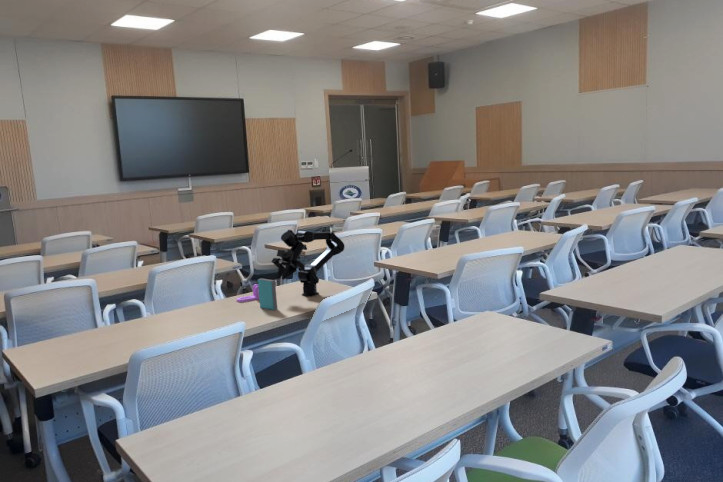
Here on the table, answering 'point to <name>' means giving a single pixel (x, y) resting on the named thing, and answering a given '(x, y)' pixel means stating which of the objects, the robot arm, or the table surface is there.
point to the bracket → (252, 297)
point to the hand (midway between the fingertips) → (280, 278)
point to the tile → (267, 294)
